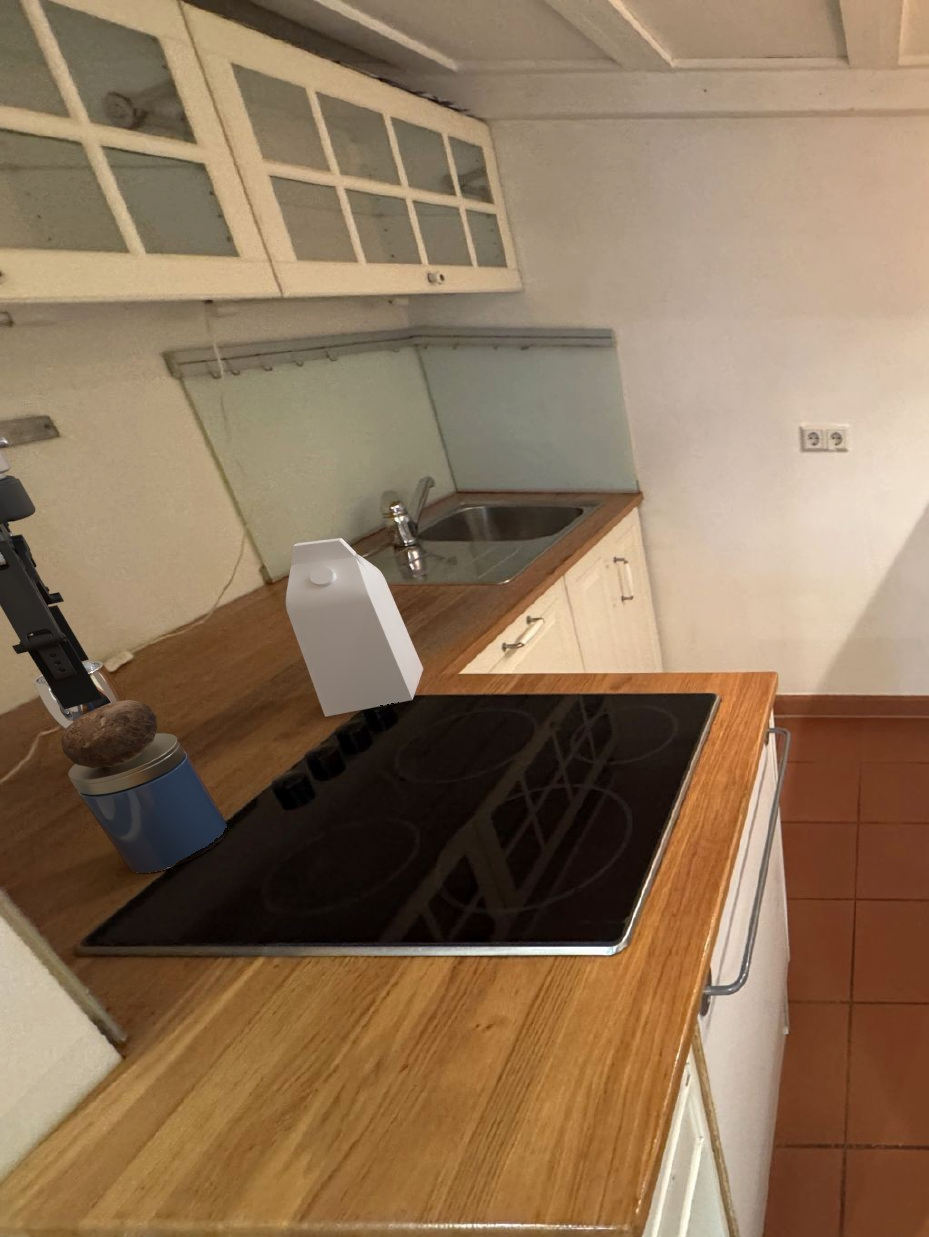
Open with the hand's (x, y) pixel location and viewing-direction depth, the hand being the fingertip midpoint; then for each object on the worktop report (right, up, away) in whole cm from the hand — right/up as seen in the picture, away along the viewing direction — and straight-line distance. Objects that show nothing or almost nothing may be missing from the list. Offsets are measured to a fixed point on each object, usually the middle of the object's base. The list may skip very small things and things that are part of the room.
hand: (77, 682), depth 73 cm
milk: (+1, -4, +43) cm, 43 cm away
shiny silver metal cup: (-23, -13, +26) cm, 37 cm away
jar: (+1, -20, +10) cm, 23 cm away
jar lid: (+1, -9, +4) cm, 10 cm away
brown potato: (+1, -9, +4) cm, 10 cm away
